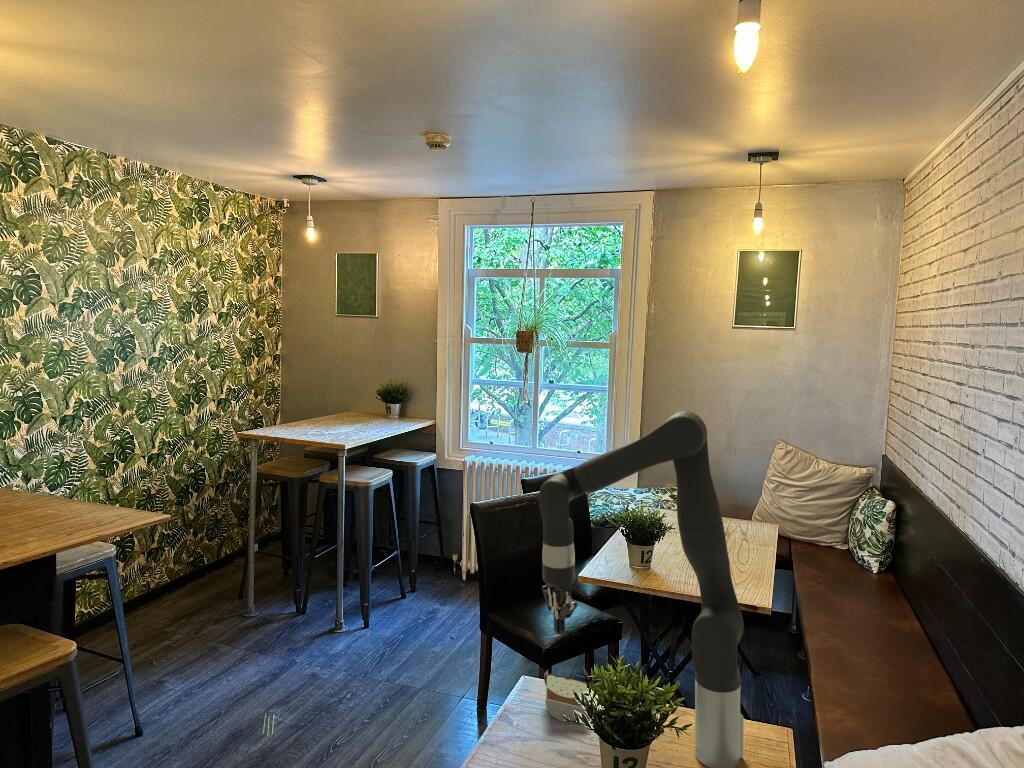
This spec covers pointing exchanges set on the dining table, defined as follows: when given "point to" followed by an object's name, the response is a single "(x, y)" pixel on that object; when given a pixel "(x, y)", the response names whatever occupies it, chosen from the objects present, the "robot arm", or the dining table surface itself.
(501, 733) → the dining table surface
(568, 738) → the dining table surface
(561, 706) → the food container
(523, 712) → the dining table surface
